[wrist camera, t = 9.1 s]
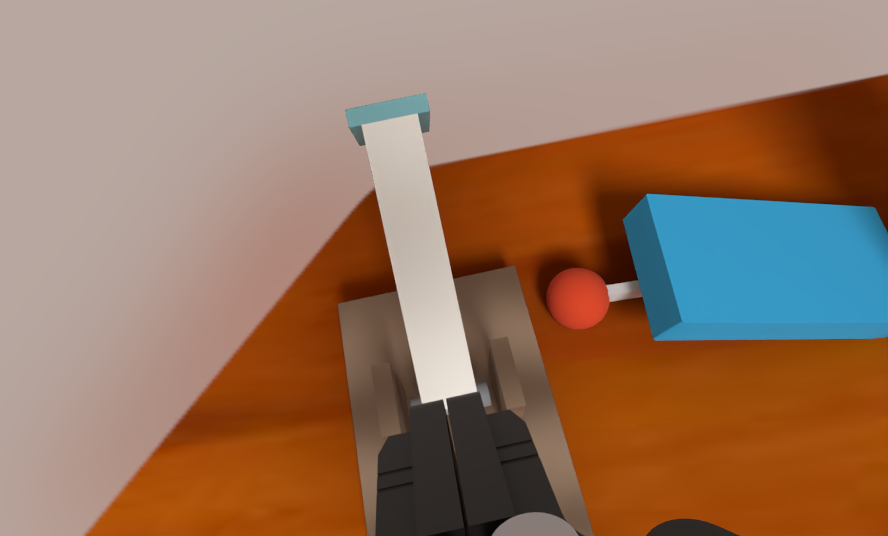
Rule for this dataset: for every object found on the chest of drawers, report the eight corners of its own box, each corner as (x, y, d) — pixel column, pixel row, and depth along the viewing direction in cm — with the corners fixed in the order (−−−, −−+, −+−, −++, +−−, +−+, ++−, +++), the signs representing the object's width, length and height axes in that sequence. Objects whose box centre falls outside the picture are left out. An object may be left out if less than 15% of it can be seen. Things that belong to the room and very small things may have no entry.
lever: (781, 263, 37) (528, 256, 33) (874, 207, 31) (578, 189, 27) (820, 363, 34) (547, 369, 30) (931, 322, 28) (607, 322, 24)
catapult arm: (494, 412, 25) (425, 92, 24) (415, 430, 25) (344, 109, 24) (484, 390, 29) (425, 116, 28) (416, 405, 29) (356, 130, 28)
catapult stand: (587, 540, 26) (619, 542, 20) (382, 587, 26) (350, 604, 20) (513, 280, 33) (519, 219, 26) (346, 316, 32) (312, 263, 26)
